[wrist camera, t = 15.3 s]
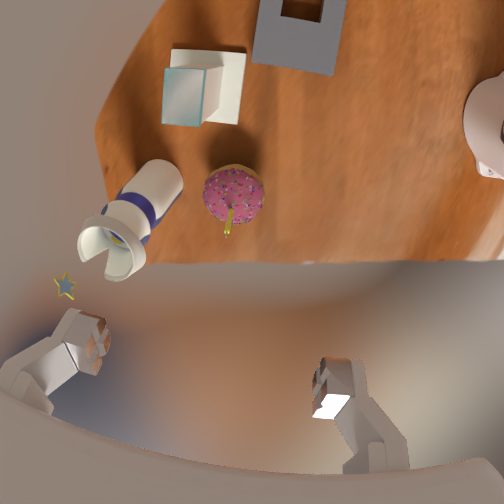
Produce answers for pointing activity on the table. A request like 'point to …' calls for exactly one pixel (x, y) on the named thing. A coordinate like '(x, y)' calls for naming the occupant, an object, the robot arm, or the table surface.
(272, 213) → the table surface
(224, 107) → the mat
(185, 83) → the plug
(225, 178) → the cupcake
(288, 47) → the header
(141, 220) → the water bottle
